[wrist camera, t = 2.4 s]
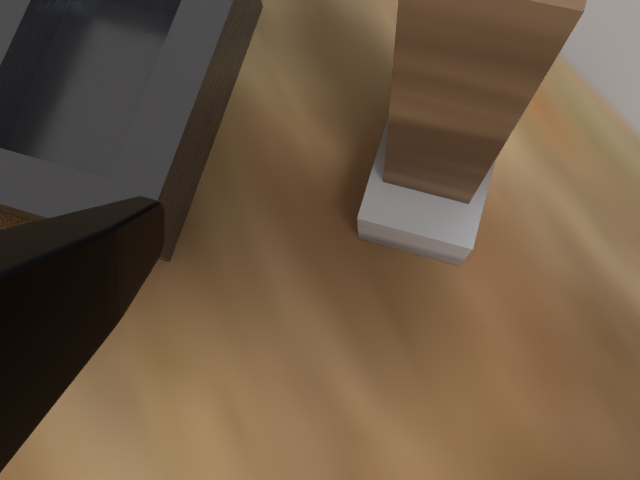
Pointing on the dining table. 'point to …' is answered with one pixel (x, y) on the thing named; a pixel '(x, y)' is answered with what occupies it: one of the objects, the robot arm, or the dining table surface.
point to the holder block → (114, 100)
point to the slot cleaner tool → (455, 115)
